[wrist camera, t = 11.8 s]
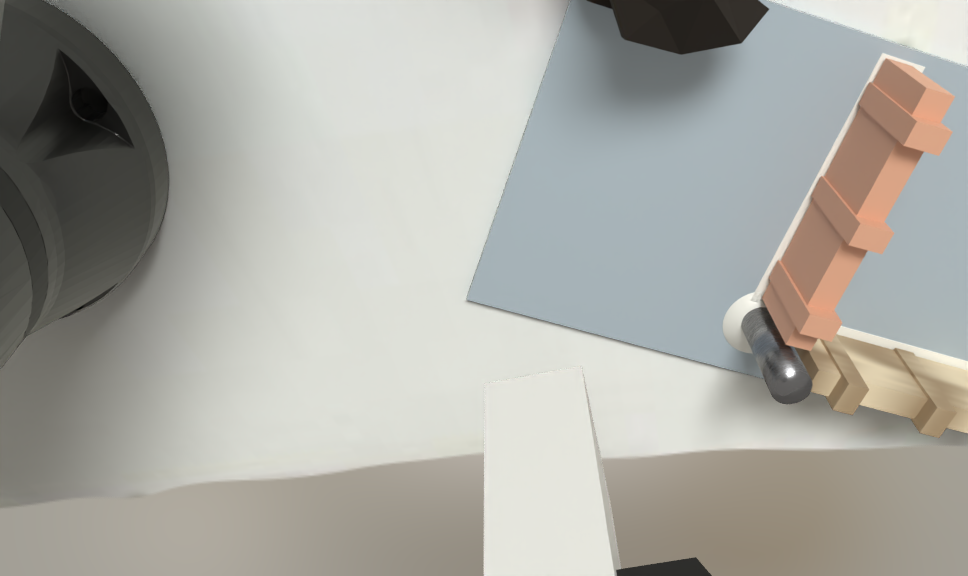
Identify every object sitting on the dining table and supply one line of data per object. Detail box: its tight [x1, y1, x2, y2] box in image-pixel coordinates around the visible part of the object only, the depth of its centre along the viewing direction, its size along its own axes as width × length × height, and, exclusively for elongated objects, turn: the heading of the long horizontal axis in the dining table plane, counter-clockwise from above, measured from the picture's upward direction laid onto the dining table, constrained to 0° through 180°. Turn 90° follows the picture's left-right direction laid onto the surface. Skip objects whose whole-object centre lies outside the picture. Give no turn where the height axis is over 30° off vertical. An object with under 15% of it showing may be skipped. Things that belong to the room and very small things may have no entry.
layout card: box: [467, 0, 968, 379], centre depth 41 cm, size 28×17×1 cm, turn 73°
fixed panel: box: [795, 334, 968, 438], centre depth 43 cm, size 12×2×5 cm, turn 73°
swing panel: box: [762, 58, 955, 351], centre depth 38 cm, size 12×2×5 cm, turn 164°
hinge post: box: [741, 307, 813, 404], centre depth 42 cm, size 2×2×6 cm
